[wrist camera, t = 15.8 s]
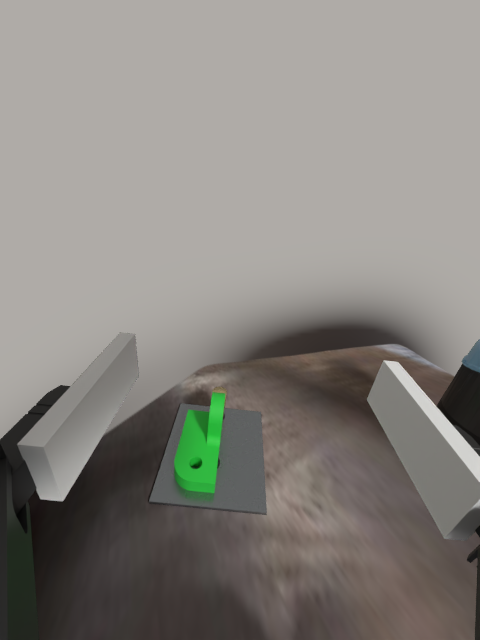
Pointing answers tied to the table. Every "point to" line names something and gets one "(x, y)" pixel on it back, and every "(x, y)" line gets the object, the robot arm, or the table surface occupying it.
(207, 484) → the mechanical part
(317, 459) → the table surface
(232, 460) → the bolt plate
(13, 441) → the robot arm
